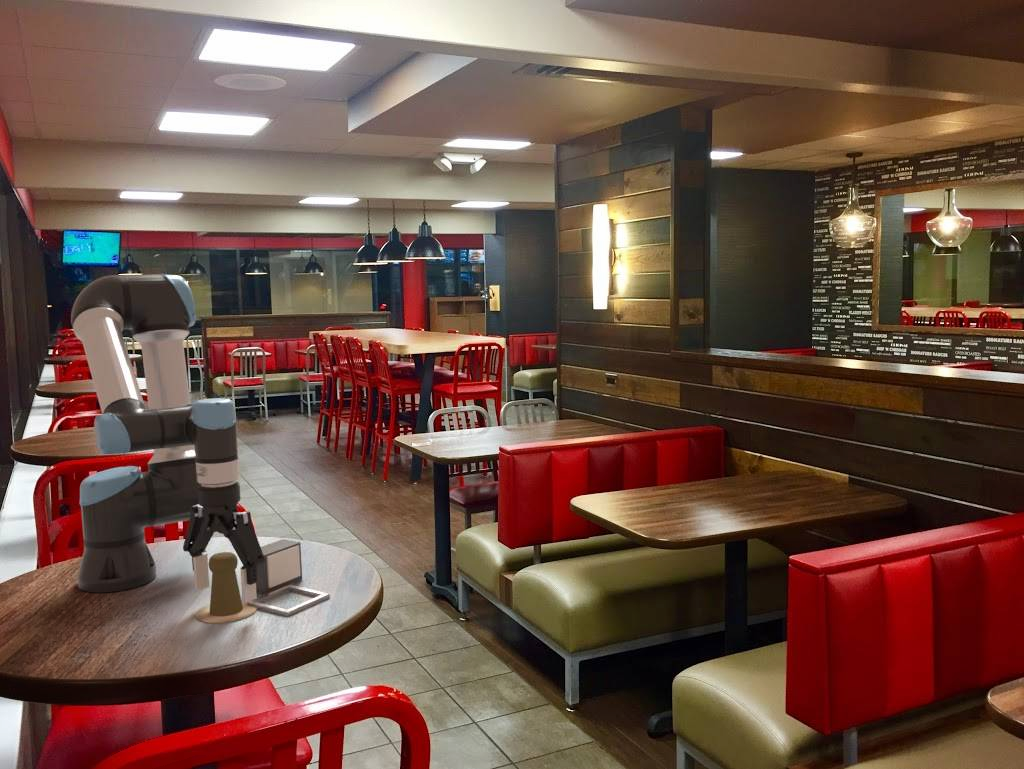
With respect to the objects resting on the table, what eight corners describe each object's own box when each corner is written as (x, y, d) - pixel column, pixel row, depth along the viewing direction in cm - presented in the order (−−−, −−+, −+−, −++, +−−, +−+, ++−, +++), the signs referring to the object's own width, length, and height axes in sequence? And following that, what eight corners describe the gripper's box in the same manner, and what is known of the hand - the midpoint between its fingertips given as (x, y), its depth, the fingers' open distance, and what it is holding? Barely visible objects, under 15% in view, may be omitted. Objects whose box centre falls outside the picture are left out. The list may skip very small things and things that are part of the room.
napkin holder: (248, 590, 178) (245, 552, 177) (285, 576, 186) (283, 539, 185) (266, 595, 175) (264, 556, 174) (303, 580, 183) (301, 542, 182)
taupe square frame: (246, 606, 169) (246, 602, 169) (289, 588, 179) (289, 584, 178) (287, 616, 163) (287, 612, 163) (329, 597, 173) (329, 593, 173)
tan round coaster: (183, 616, 165) (182, 614, 165) (230, 597, 174) (230, 596, 174) (222, 627, 159) (222, 625, 159) (269, 607, 168) (269, 606, 168)
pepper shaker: (203, 615, 164) (199, 558, 163) (219, 603, 170) (216, 548, 169) (232, 617, 163) (229, 559, 162) (248, 605, 169) (245, 549, 167)
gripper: (158, 480, 167) (166, 589, 169) (248, 494, 154) (255, 612, 156) (191, 472, 173) (198, 577, 176) (280, 485, 160) (287, 599, 163)
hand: (225, 594), depth 166 cm, fingers open, 12 cm apart
